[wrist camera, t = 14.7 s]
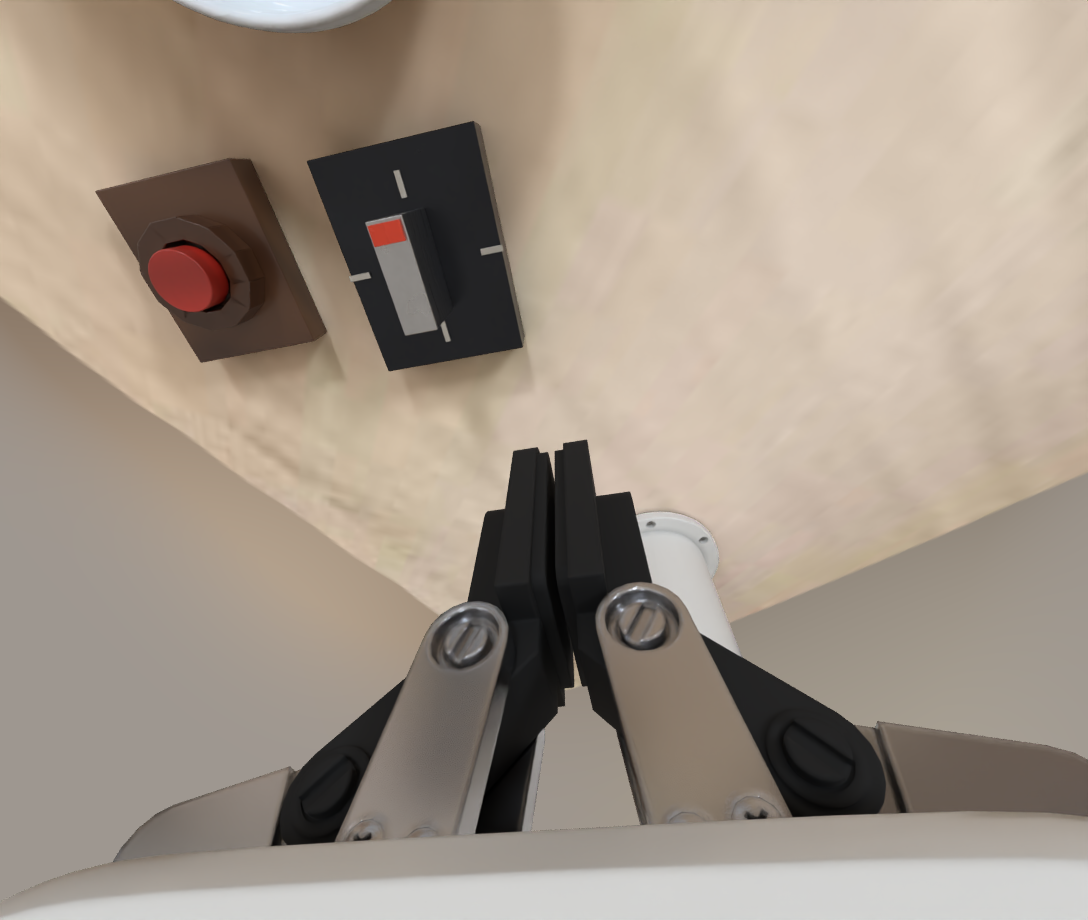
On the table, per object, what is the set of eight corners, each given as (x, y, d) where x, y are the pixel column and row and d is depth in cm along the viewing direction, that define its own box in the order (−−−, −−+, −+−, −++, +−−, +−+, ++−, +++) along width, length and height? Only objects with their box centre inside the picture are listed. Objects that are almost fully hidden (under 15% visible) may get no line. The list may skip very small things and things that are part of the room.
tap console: (526, 336, 34) (524, 348, 32) (397, 359, 35) (386, 372, 33) (481, 124, 27) (475, 119, 25) (323, 162, 28) (303, 161, 26)
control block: (327, 332, 34) (302, 349, 31) (219, 352, 35) (183, 372, 32) (250, 159, 28) (209, 157, 25) (123, 189, 29) (67, 192, 26)
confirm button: (240, 300, 29) (224, 306, 28) (190, 310, 30) (171, 317, 28) (208, 239, 27) (188, 243, 26) (156, 251, 28) (133, 255, 26)
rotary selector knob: (453, 308, 30) (436, 331, 26) (425, 313, 31) (403, 337, 26) (424, 207, 27) (399, 214, 23) (393, 214, 27) (362, 222, 23)
